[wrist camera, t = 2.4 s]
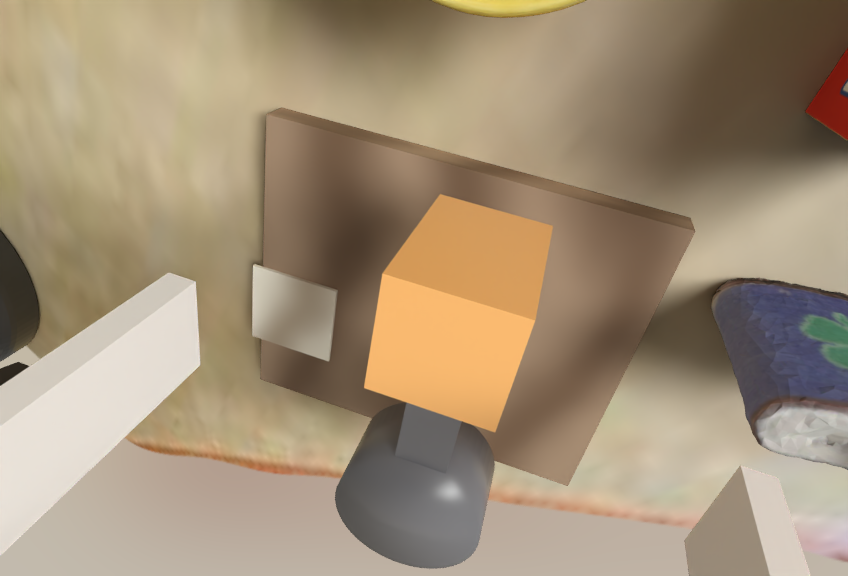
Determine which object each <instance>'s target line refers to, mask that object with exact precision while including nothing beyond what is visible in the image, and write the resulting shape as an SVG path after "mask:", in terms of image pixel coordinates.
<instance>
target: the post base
mask: <svg viewBox="0 0 848 576" xmlns="http://www.w3.org/2000/svg"><path fill="white" fill-rule="evenodd" d="M440 194H442V195H445V196H449V197H452V198H456V199H459V200H463V201H466V202H470V203H474V204H477V205H481V206H484V207H488V208H491V209H495V210H498V211H502V212H506V213H509V214H513V215H516V216H520V217H523V218H527V219H530V220H534V221H537V222H541V223H545V224H548V225H552V226H553V230H552V235H551V240H550V246H549V251H548V256H547V261H546V267H545V272H544V277H543V283H542V288H541V293H540V299H539V304H538V309H537V315H536V320H535V323H534V326H533V329H532V331H531V334H530V337H529V340H528V342H527V345H526V348H525V351H524V354H523V356H522V359H521V362H520V365H519V368H518V370H517V373H516V376H515V379H514V381H513V384H512V387H511V390H510V393H509V395H508V398H507V401H506V404H505V407H504V409H503V412H502V415H501V418H500V420H499V423H498V426H497V429H496V432H492V431H489V430H486V429H483V428H480V427H477V426H475V427H476V428H477V429H478V430H479V431H480V432H481V434H482V435H483V436H484V437H485V439H486V440H487V442H488V444H489V446H490V448H491V450H492V453H493V456H494V461H497V462H500V463H503V464H506V465H509V466H512V467H515V468H517V469H520V470H523V471H526V472H529V473H532V474H535V475H538V476H540V477H543V478H546V479H549V480H552V481H555V482H558V483H561V484H563V485H566V486H568V485H569V483H570V481H571V479H572V477H573V475H574V473H575V471H576V469H577V467H578V465H579V463H580V461H581V459H582V457H583V455H584V453H585V451H586V449H587V447H588V445H589V443H590V441H591V439H592V437H593V435H594V433H595V431H596V429H597V427H598V425H599V423H600V421H601V419H602V417H603V415H604V413H605V411H606V409H607V407H608V405H609V403H610V401H611V399H612V397H613V395H614V393H615V391H616V389H617V387H618V385H619V383H620V381H621V379H622V377H623V375H624V373H625V371H626V369H627V367H628V365H629V363H630V361H631V359H632V357H633V355H634V353H635V351H636V349H637V347H638V345H639V343H640V341H641V339H642V337H643V335H644V333H645V331H646V329H647V327H648V325H649V323H650V321H651V319H652V317H653V315H654V313H655V311H656V309H657V307H658V305H659V303H660V301H661V299H662V297H663V295H664V293H665V291H666V289H667V287H668V285H669V283H670V281H671V279H672V277H673V275H674V273H675V271H676V269H677V267H678V265H679V263H680V261H681V259H682V257H683V255H684V253H685V251H686V249H687V247H688V245H689V243H690V241H691V239H692V237H693V235H694V233H695V229H694V226H693V224H692V221H691V218H689V217H685V216H681V215H677V214H674V213H670V212H666V211H663V210H659V209H655V208H651V207H648V206H644V205H640V204H637V203H633V202H629V201H626V200H622V199H618V198H614V197H611V196H607V195H603V194H600V193H596V192H592V191H589V190H585V189H581V188H577V187H574V186H570V185H566V184H563V183H559V182H555V181H551V180H548V179H544V178H540V177H537V176H533V175H529V174H526V173H522V172H518V171H514V170H511V169H507V168H503V167H500V166H496V165H492V164H489V163H485V162H481V161H477V160H474V159H470V158H466V157H463V156H459V155H455V154H451V153H448V152H444V151H440V150H437V149H433V148H429V147H426V146H422V145H418V144H414V143H411V142H407V141H403V140H400V139H396V138H392V137H388V136H385V135H381V134H377V133H374V132H370V131H366V130H363V129H359V128H355V127H351V126H348V125H344V124H340V123H337V122H333V121H329V120H326V119H322V118H318V117H314V116H311V115H307V114H303V113H300V112H296V111H292V110H288V109H285V108H280V109H278V110H275V111H273V112H270V113H268V114H266V154H265V198H264V242H263V266H260V265H257V264H254V265H253V305H252V336H254V337H257V338H260V339H261V375H260V379H261V380H264V381H267V382H270V383H273V384H276V385H279V386H282V387H284V388H287V389H290V390H293V391H296V392H299V393H302V394H305V395H307V396H310V397H313V398H316V399H319V400H322V401H325V402H328V403H330V404H333V405H336V406H339V407H342V408H345V409H348V410H351V411H353V412H356V413H359V414H362V415H365V416H368V417H371V418H373V417H374V416H375V415H376V414H377V413H378V412H380V411H381V410H383V409H384V408H387V407H389V406H391V405H394V404H398V403H404V401H401V400H398V399H395V398H392V397H389V396H386V395H383V394H380V393H377V392H374V391H371V390H369V389H366V388H364V384H365V378H366V372H367V366H368V360H369V353H370V347H371V341H372V335H373V329H374V323H375V316H376V310H377V304H378V298H379V292H380V285H381V279H382V273H383V272H384V271H385V269H386V268H387V267H388V265H389V264H390V262H391V261H392V260H393V258H394V257H395V256H396V254H397V253H398V251H399V250H400V249H401V247H402V246H403V245H404V243H405V242H406V240H407V239H408V238H409V236H410V235H411V234H412V232H413V231H414V229H415V228H416V227H417V225H418V224H419V223H420V221H421V220H422V218H423V217H424V216H425V214H426V213H427V212H428V210H429V209H430V207H431V206H432V205H433V203H434V202H435V201H436V199H437V198H438V196H439V195H440Z"/></svg>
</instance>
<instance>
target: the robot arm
mask: <svg viewBox="0 0 848 576" xmlns="http://www.w3.org/2000/svg"><path fill="white" fill-rule="evenodd" d="M38 322H39V309H38V302H37V298H36V294H35V290H34V288H33V285H32V282H31V280H30V277H29V275H28V273H27V271H26V269H25V267H24V265H23V263H22V262H21V260H20V258H19V257H18V255H17V253H16V252H15V250H14V249H13V247H12V246H11V245H10V243H9V242H8V240H7V239H6V238H5V237H4V235H3V234H2V233H1V232H0V361H2V360H4V359H5V358H7V357H9V356H10V355H12V354H13V353H15V352H16V351H18V350H19V349H21V348H23V347H24V346H26V345H27V344H28V343H29V342H30V341H31V340H32V339H33V337H34V335H35V333H36V331H37V327H38ZM199 366H200V349H199V331H198V313H197V296H196V281H193V280H190V279H187V278H184V277H181V276H178V275H175V274H172V273H167V274H166V275H164V276H163V277H161V278H160V279H158V280H157V281H155V282H154V283H152V284H151V285H149V286H148V287H146V288H145V289H143V290H142V291H141V292H139V293H138V294H136V295H135V296H133V297H132V298H130V299H129V300H127V301H126V302H124V303H123V304H121V305H120V306H118V307H117V308H115V309H114V310H112V311H111V312H109V313H108V314H106V315H105V316H103V317H102V318H101V319H99V320H98V321H96V322H95V323H93V324H92V325H90V326H89V327H87V328H86V329H84V330H83V331H81V332H80V333H78V334H77V335H75V336H74V337H72V338H71V339H69V340H68V341H66V342H65V343H63V344H62V345H61V346H59V347H58V348H56V349H55V350H53V351H52V352H50V353H49V354H47V355H46V356H44V357H43V358H41V359H40V360H38V361H37V362H35V363H34V364H32V365H31V366H27V365H25V364H22V363H20V362H17V363H14V364H11V365H9V366H6V367H3V368H1V369H0V556H1V555H2V553H4V552H5V551H6V550H7V549H8V548H9V547H10V546H11V545H12V544H13V543H14V542H15V541H16V540H17V539H18V538H19V537H20V536H22V535H23V534H24V533H25V532H26V531H27V530H28V529H29V528H30V527H31V526H32V525H33V524H34V523H35V522H36V521H37V520H38V519H39V518H40V517H41V516H43V515H44V514H45V512H47V511H48V510H49V509H50V508H51V507H52V506H53V505H54V504H55V503H56V502H57V501H58V500H59V499H60V498H61V497H62V496H63V495H65V493H67V492H68V491H69V490H70V489H71V488H72V487H73V486H74V485H75V484H76V483H77V482H78V481H79V480H80V479H81V478H82V477H83V476H84V475H86V474H87V473H88V472H89V470H91V469H92V468H93V467H94V466H95V465H96V464H97V463H98V462H99V461H100V460H101V459H102V458H103V457H104V456H105V455H106V454H108V453H109V452H110V451H111V450H112V449H113V448H114V447H115V446H116V445H117V444H118V443H119V442H120V441H121V440H122V439H123V438H124V437H125V436H126V435H128V434H129V433H130V432H131V431H132V430H133V429H134V428H135V427H136V426H137V425H138V424H139V423H140V422H141V421H142V420H143V419H144V418H145V417H146V416H147V415H148V414H150V413H151V412H152V411H153V410H154V409H155V408H156V407H157V406H158V405H159V404H160V403H161V402H162V401H163V400H164V399H165V398H166V397H167V396H168V395H169V394H171V393H172V392H173V391H174V390H175V389H176V388H177V387H178V386H179V385H180V384H181V383H182V382H183V381H184V380H185V379H186V378H187V377H188V376H189V375H190V374H192V373H193V372H194V371H195V370H196V369H197V368H198V367H199ZM685 548H686V556H687V564H688V571H689V576H811V575H810V572H809V569H808V566H807V563H806V560H805V557H804V554H803V551H802V548H801V545H800V542H799V539H798V536H797V533H796V530H795V527H794V524H793V521H792V518H791V515H790V512H789V509H788V506H787V503H786V500H785V497H784V494H783V491H782V488H781V485H780V482H779V479H778V478H777V477H774V476H771V475H768V474H765V473H762V472H759V471H756V470H753V469H750V468H747V467H744V466H741V465H740V467H739V468H738V469H737V471H736V472H735V473H734V475H733V476H732V477H731V479H730V480H729V481H728V483H727V484H726V485H725V487H724V488H723V489H722V491H721V492H720V494H719V495H718V496H717V498H716V499H715V500H714V502H713V503H712V504H711V506H710V507H709V508H708V510H707V511H706V512H705V514H704V515H703V516H702V518H701V519H700V520H699V522H698V523H697V524H696V526H695V527H694V528H693V530H692V531H691V532H690V534H689V535H688V537H687V538H686V539H685Z"/></svg>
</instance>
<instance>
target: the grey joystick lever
mask: <svg viewBox="0 0 848 576" xmlns="http://www.w3.org/2000/svg"><path fill="white" fill-rule="evenodd" d="M552 230H553V226H552V225H548V224H545V223H541V222H537V221H534V220H530V219H527V218H523V217H520V216H516V215H513V214H509V213H506V212H502V211H498V210H495V209H491V208H488V207H484V206H481V205H477V204H474V203H470V202H466V201H463V200H459V199H456V198H452V197H449V196H445V195H442V194H440V195H439V196H438V198H437V199H436V201H435V202H434V203H433V205H432V206H431V207H430V209H429V210H428V212H427V213H426V214H425V216H424V217H423V218H422V220H421V221H420V223H419V224H418V225H417V227H416V228H415V229H414V231H413V232H412V234H411V235H410V236H409V238H408V239H407V240H406V242H405V243H404V245H403V246H402V247H401V249H400V250H399V251H398V253H397V254H396V256H395V257H394V258H393V260H392V261H391V262H390V264H389V265H388V267H387V268H386V269H385V271H384V272H383V273H382V279H381V285H380V292H379V298H378V304H377V310H376V316H375V323H374V329H373V335H372V341H371V347H370V353H369V360H368V366H367V372H366V378H365V384H364V388H366V389H369V390H371V391H374V392H377V393H380V394H383V395H386V396H389V397H392V398H395V399H398V400H401V401H404V403H398V404H394V405H391V406H389V407H387V408H384V409H383V410H381V411H380V412H378V413H377V414H376V415H375V416H374V417H373V419H372V420H371V421H370V423H369V425H368V427H367V429H366V431H365V433H364V435H363V437H362V439H361V441H360V443H359V445H358V447H357V449H356V451H355V453H354V455H353V456H352V458H351V460H350V462H349V464H348V466H347V468H346V470H345V472H344V474H343V476H342V478H341V480H340V482H339V484H338V486H337V489H336V495H335V501H336V507H337V510H338V512H339V515H340V517H341V519H342V521H343V522H344V524H345V525H346V527H347V528H348V529H349V530H350V532H351V533H352V534H353V535H354V536H355V537H356V538H357V539H359V540H360V541H361V542H362V543H363V544H365V545H366V546H367V547H369V548H370V549H372V550H373V551H375V552H377V553H378V554H380V555H382V556H384V557H386V558H388V559H391V560H393V561H396V562H399V563H402V564H405V565H409V566H413V567H419V568H446V567H450V566H454V565H457V564H459V563H461V562H463V561H465V560H466V559H467V558H469V557H470V556H471V555H472V554H473V553H474V551H475V550H476V548H477V546H478V542H479V539H480V534H481V529H482V525H483V520H484V515H485V511H486V506H487V501H488V497H489V492H490V487H491V483H492V478H493V473H494V465H495V464H494V456H493V453H492V450H491V448H490V446H489V444H488V442H487V440H486V439H485V437H484V436H483V435H482V434H481V432H480V431H479V430H478V429H477V428H476V427H475V426H477V427H480V428H483V429H486V430H489V431H492V432H496V429H497V426H498V423H499V420H500V418H501V415H502V412H503V409H504V407H505V404H506V401H507V398H508V395H509V393H510V390H511V387H512V384H513V381H514V379H515V376H516V373H517V370H518V368H519V365H520V362H521V359H522V356H523V354H524V351H525V348H526V345H527V342H528V340H529V337H530V334H531V331H532V329H533V326H534V323H535V320H536V315H537V309H538V304H539V299H540V293H541V288H542V283H543V277H544V272H545V267H546V261H547V256H548V251H549V246H550V240H551V235H552Z"/></svg>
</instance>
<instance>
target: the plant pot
mask: <svg viewBox="0 0 848 576" xmlns="http://www.w3.org/2000/svg"><path fill="white" fill-rule="evenodd" d="M431 1H433V2H435V3H438V4H440V5H443V6H446V7H449V8H451V9H454V10H457V11H460V12H465V13H469V14H473V15H479V16H486V17H502V18H506V17H526V16H534V15H540V14H545V13H550V12H554V11H558V10H562V9H565V8H568V7H571V6H573V5H576V4H579V3H582V2H584V1H586V0H431Z"/></svg>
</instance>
